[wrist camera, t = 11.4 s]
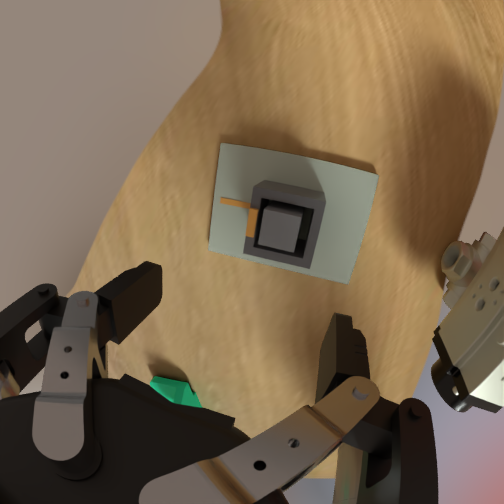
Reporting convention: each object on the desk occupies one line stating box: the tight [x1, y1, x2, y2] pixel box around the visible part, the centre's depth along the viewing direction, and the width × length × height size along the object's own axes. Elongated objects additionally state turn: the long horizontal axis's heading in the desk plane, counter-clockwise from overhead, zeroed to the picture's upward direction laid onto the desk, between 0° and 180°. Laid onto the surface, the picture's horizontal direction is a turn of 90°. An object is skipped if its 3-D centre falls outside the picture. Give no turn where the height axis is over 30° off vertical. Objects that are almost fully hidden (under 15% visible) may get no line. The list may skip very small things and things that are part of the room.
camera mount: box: [150, 376, 202, 408], centre depth 41 cm, size 12×8×10 cm, turn 8°
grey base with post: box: [208, 143, 379, 284], centre depth 25 cm, size 16×12×7 cm
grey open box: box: [243, 180, 326, 269], centre depth 25 cm, size 6×6×5 cm
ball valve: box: [431, 227, 504, 413], centre depth 17 cm, size 18×8×18 cm, turn 156°
